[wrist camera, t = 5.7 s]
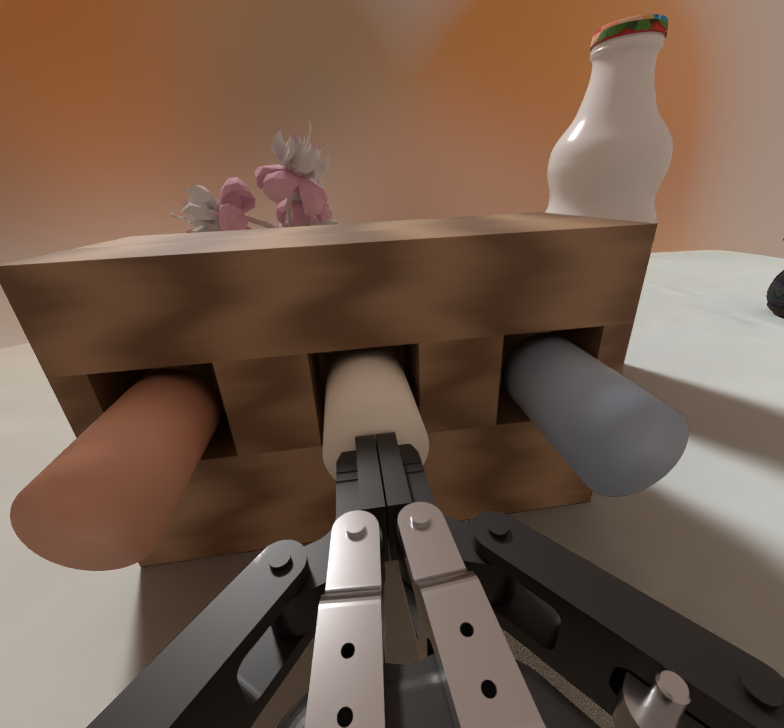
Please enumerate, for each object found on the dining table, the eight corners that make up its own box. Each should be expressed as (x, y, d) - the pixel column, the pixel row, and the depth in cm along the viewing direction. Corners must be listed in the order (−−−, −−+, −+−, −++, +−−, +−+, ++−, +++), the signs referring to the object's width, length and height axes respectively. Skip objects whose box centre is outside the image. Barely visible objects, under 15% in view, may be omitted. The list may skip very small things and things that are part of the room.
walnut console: (140, 566, 20) (-9, 266, 13) (201, 450, 29) (130, 236, 22) (590, 501, 23) (657, 223, 16) (518, 413, 32) (541, 212, 25)
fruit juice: (622, 395, 34) (726, -19, 22) (515, 377, 38) (554, 20, 26) (620, 356, 41) (696, 31, 29) (530, 344, 45) (566, 55, 33)
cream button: (429, 485, 15) (428, 399, 13) (329, 498, 15) (315, 412, 13) (401, 398, 21) (399, 332, 20) (331, 406, 21) (322, 339, 19)
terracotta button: (176, 560, 12) (136, 466, 11) (46, 579, 12) (-18, 484, 10) (230, 436, 19) (210, 364, 17) (146, 445, 18) (117, 372, 17)
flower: (390, 292, 65) (309, 149, 56) (421, 318, 44) (299, 95, 35) (292, 351, 65) (196, 218, 56) (276, 405, 44) (120, 207, 35)
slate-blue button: (670, 488, 14) (703, 398, 13) (572, 503, 14) (592, 411, 12) (568, 397, 21) (580, 329, 19) (498, 405, 20) (504, 336, 18)
